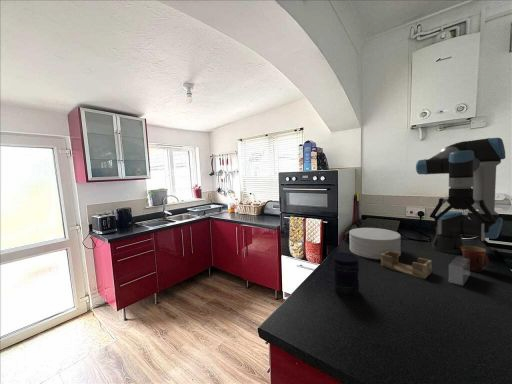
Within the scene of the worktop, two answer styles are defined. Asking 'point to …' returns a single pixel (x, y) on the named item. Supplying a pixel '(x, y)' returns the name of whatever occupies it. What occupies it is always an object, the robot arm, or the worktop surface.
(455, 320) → the worktop surface
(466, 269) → the grey block
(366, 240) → the plate stack
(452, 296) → the worktop surface
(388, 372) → the worktop surface
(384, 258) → the posts
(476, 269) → the mug
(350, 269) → the storage jar
